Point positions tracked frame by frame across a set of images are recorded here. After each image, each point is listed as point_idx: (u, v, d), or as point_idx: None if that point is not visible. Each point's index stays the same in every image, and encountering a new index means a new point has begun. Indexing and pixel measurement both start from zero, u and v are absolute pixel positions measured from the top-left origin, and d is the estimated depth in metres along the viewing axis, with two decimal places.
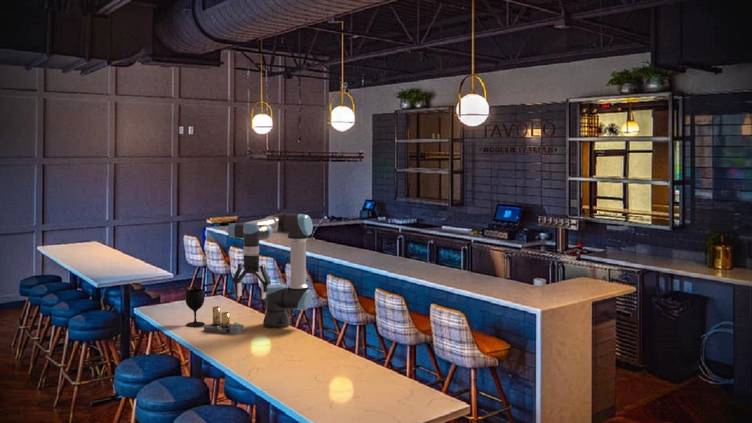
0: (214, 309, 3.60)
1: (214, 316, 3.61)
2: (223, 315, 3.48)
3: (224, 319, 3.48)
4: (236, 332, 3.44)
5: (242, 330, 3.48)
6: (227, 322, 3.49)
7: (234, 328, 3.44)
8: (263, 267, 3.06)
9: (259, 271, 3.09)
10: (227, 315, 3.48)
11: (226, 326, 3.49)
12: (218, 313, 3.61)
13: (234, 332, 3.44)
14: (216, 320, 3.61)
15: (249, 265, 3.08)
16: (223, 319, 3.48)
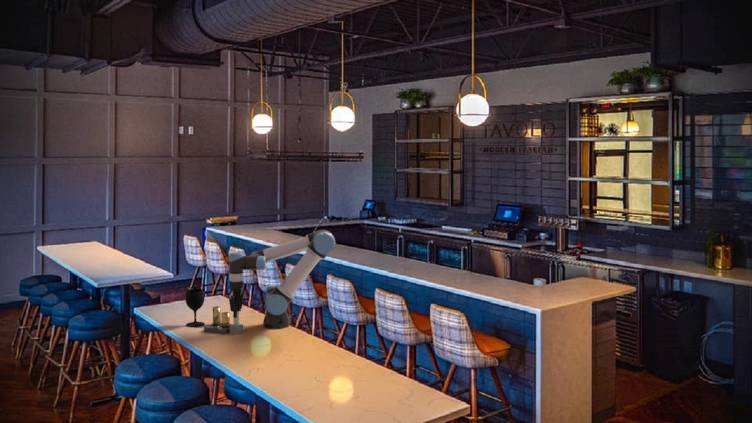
0: (214, 309, 3.60)
1: (214, 316, 3.61)
2: (223, 315, 3.48)
3: (224, 319, 3.48)
4: (236, 332, 3.44)
5: (242, 330, 3.48)
6: (227, 322, 3.49)
7: (234, 328, 3.44)
8: (229, 297, 3.40)
9: (236, 298, 3.43)
10: (227, 315, 3.48)
11: (226, 326, 3.49)
12: (218, 313, 3.61)
13: (234, 332, 3.44)
14: (216, 320, 3.61)
15: None
16: (223, 319, 3.48)
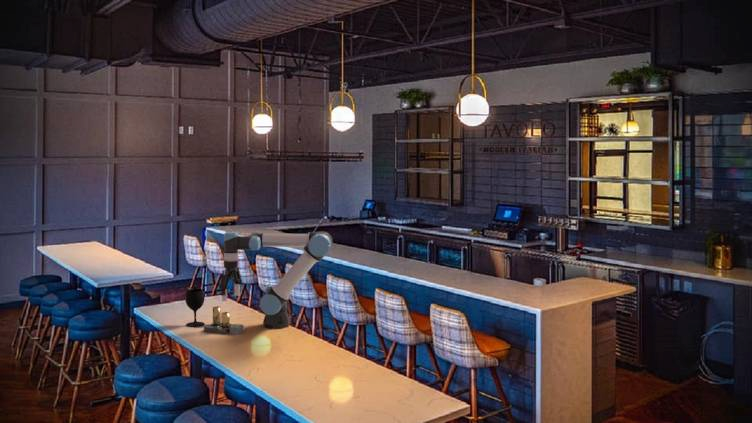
0: (214, 309, 3.60)
1: (214, 316, 3.61)
2: (223, 315, 3.48)
3: (224, 319, 3.48)
4: (236, 332, 3.44)
5: (242, 330, 3.48)
6: (227, 322, 3.49)
7: (234, 328, 3.44)
8: (224, 272, 3.41)
9: (229, 276, 3.44)
10: (227, 315, 3.48)
11: (226, 326, 3.49)
12: (218, 313, 3.61)
13: (234, 332, 3.44)
14: (216, 320, 3.61)
15: None
16: (223, 319, 3.48)
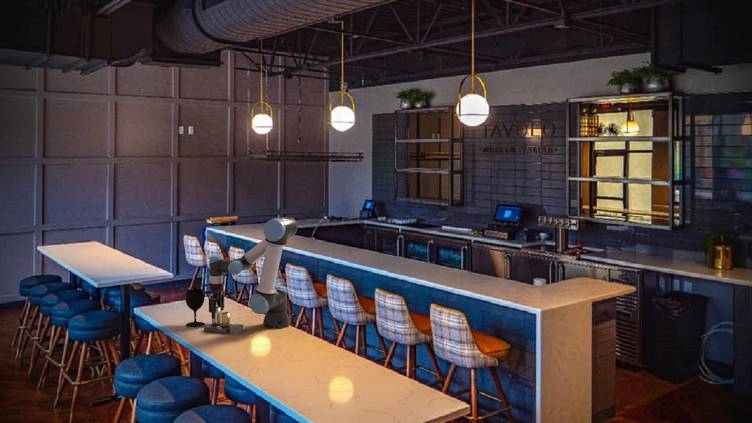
0: None
1: None
2: (223, 315, 3.48)
3: (224, 319, 3.48)
4: (236, 332, 3.44)
5: (242, 330, 3.48)
6: (227, 322, 3.49)
7: (234, 328, 3.44)
8: (209, 297, 3.56)
9: (216, 299, 3.59)
10: (227, 315, 3.48)
11: (226, 326, 3.49)
12: (218, 313, 3.61)
13: (234, 332, 3.44)
14: None
15: None
16: (223, 319, 3.48)
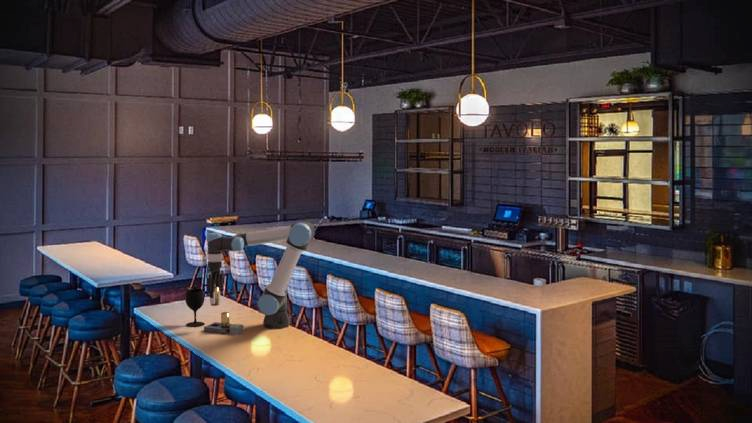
0: None
1: None
2: (222, 315, 3.48)
3: (223, 319, 3.48)
4: (236, 332, 3.44)
5: (242, 330, 3.48)
6: (227, 322, 3.49)
7: (234, 328, 3.44)
8: (207, 276, 3.44)
9: (214, 278, 3.47)
10: (226, 315, 3.48)
11: (226, 326, 3.49)
12: (216, 293, 3.50)
13: (234, 332, 3.44)
14: None
15: None
16: (222, 319, 3.48)
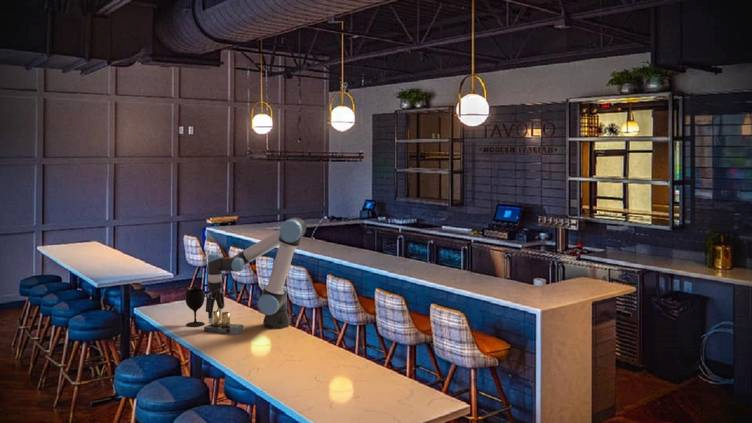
0: None
1: None
2: (223, 315, 3.48)
3: (224, 319, 3.48)
4: (236, 332, 3.44)
5: (242, 330, 3.48)
6: (227, 322, 3.49)
7: (234, 328, 3.44)
8: (207, 296, 3.45)
9: (214, 298, 3.48)
10: (227, 315, 3.48)
11: (226, 326, 3.48)
12: (217, 318, 3.51)
13: (234, 332, 3.44)
14: (215, 325, 3.51)
15: None
16: (223, 319, 3.48)
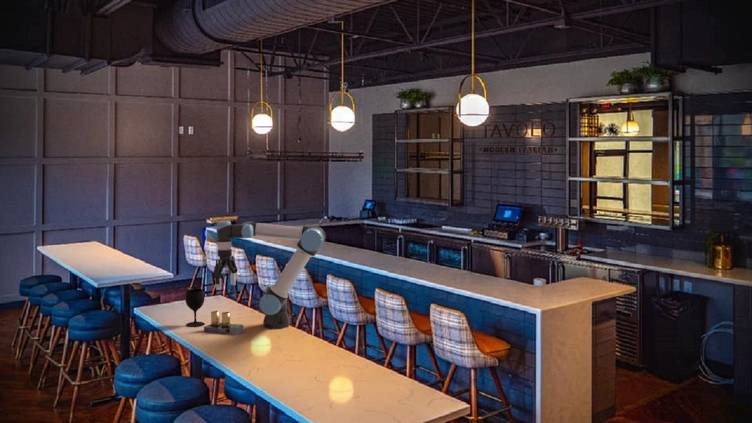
0: (213, 314, 3.50)
1: (213, 321, 3.51)
2: (223, 315, 3.48)
3: (224, 319, 3.48)
4: (236, 332, 3.44)
5: (242, 330, 3.48)
6: (227, 322, 3.49)
7: (234, 328, 3.44)
8: (217, 261, 3.41)
9: (223, 265, 3.44)
10: (227, 315, 3.48)
11: (226, 326, 3.49)
12: (217, 318, 3.51)
13: (234, 332, 3.44)
14: (215, 325, 3.51)
15: None
16: (223, 319, 3.48)
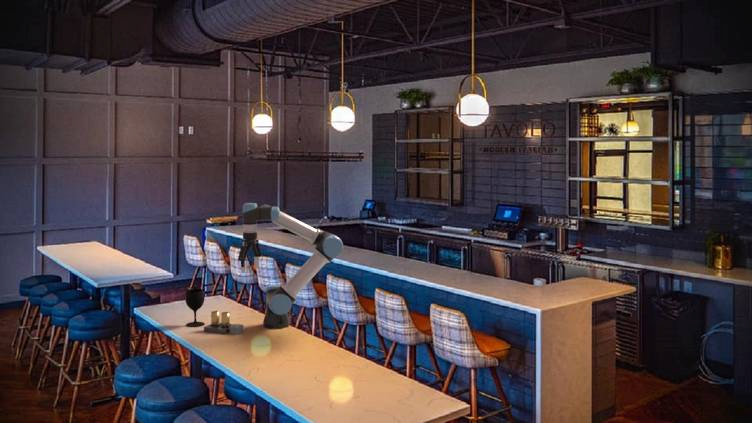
0: (213, 314, 3.50)
1: (213, 321, 3.51)
2: (222, 314, 3.48)
3: (223, 319, 3.48)
4: (236, 332, 3.44)
5: (242, 330, 3.48)
6: (226, 322, 3.49)
7: (234, 328, 3.44)
8: (242, 244, 3.36)
9: (248, 248, 3.38)
10: (226, 315, 3.48)
11: (225, 326, 3.49)
12: (217, 318, 3.51)
13: (234, 332, 3.44)
14: (215, 325, 3.51)
15: None
16: (222, 318, 3.49)
